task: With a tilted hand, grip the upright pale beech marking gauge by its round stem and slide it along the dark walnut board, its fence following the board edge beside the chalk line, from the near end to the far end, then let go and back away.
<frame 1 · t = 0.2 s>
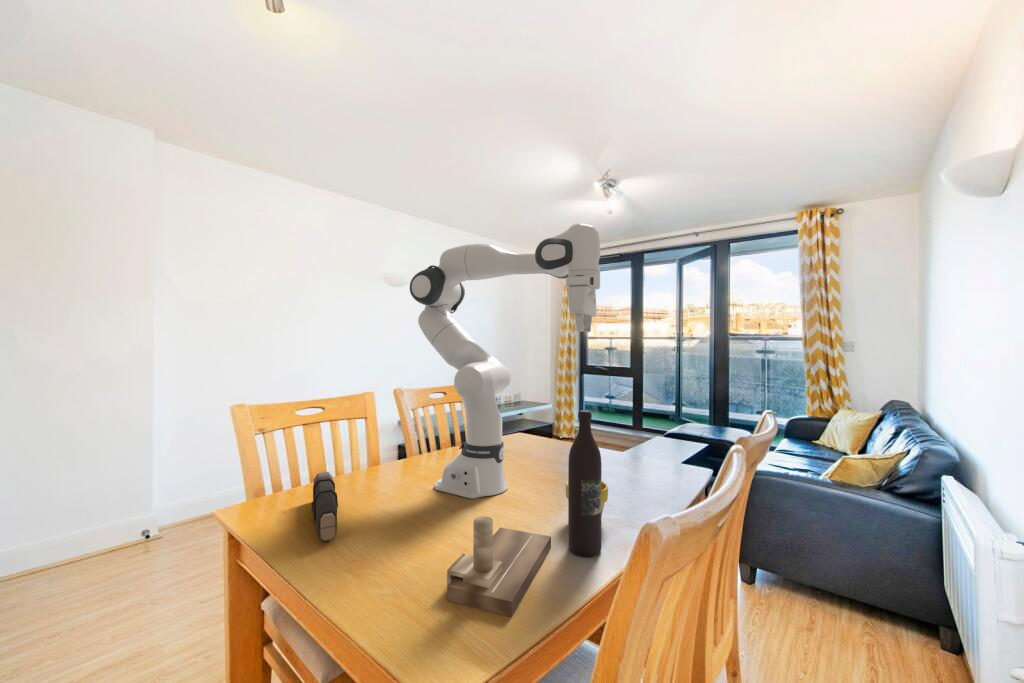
hand: (583, 331, 114), 48 cm above the table, tool pointing down, fingers open, 8 cm apart
dark grey segmented bar: (325, 521, 102), on the table
plant pot: (586, 524, 101), on the table
board: (505, 571, 79), on the table
wine bottle: (584, 550, 88), on the table
gauge: (483, 575, 73), point 2 cm above the table, touching board
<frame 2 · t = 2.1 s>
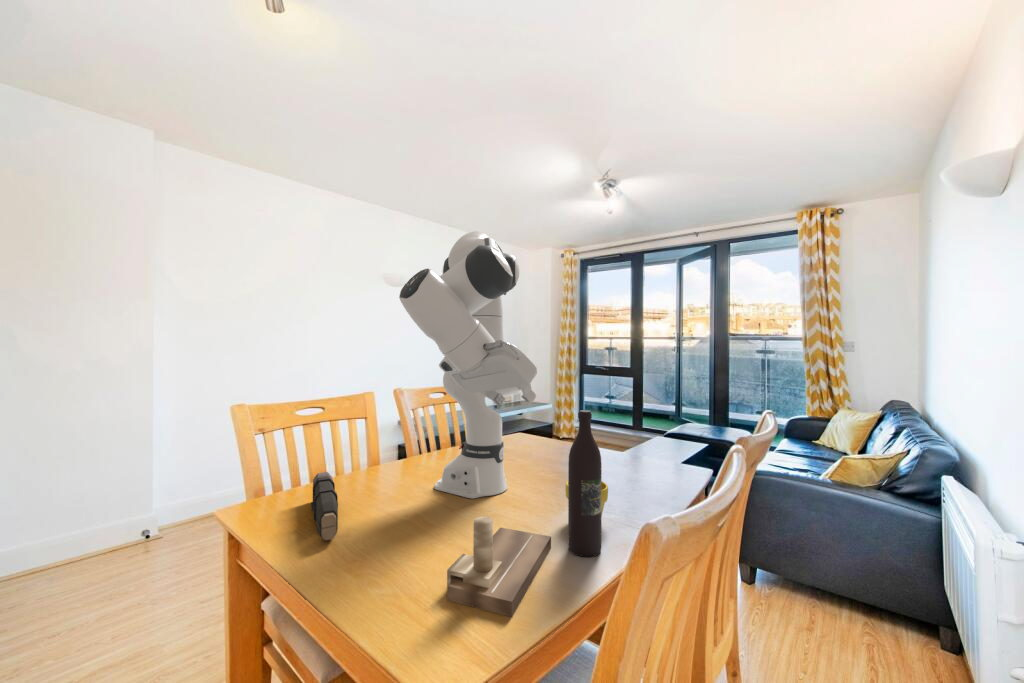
hand: (516, 401, 78), 33 cm above the table, tool tilted 45°, fingers open, 8 cm apart
nothing on the table moved.
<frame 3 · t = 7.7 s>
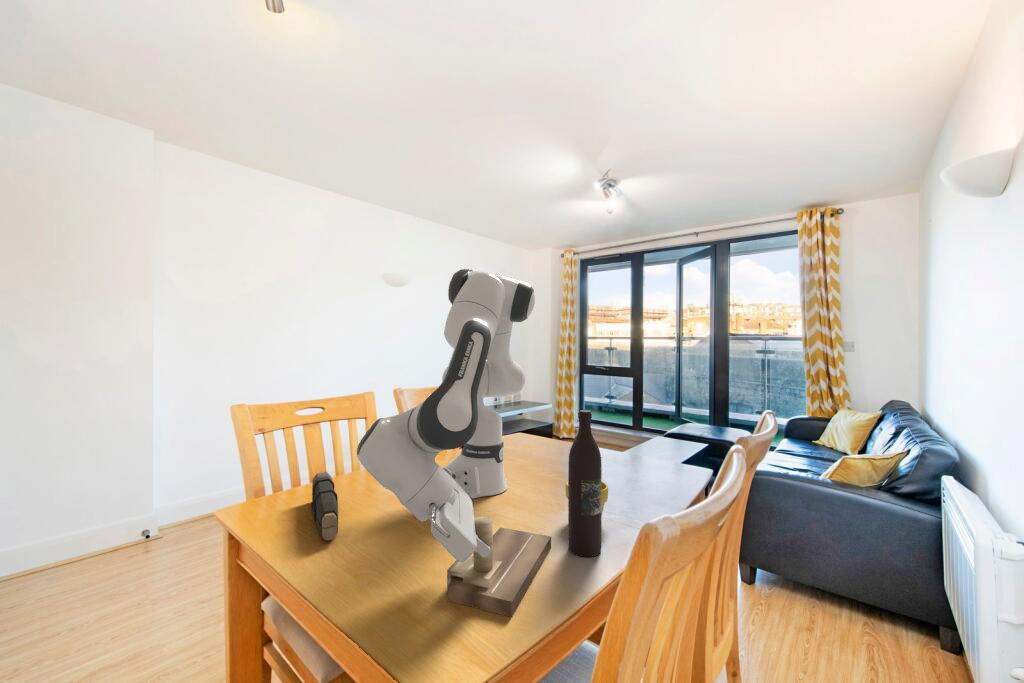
hand: (486, 545, 74), 8 cm above the table, tool tilted 45°, fingers closed on gauge, 3 cm apart
gauge: (483, 575, 73), point 2 cm above the table, touching board, gripper
everything else where it was.
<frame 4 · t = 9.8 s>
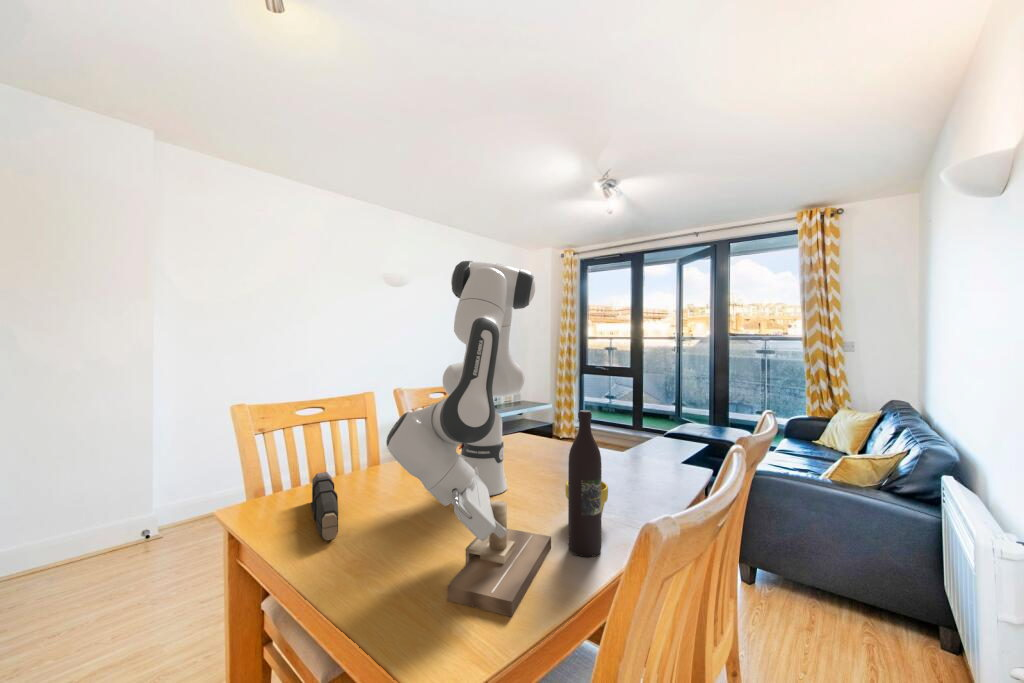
hand: (502, 528, 81), 8 cm above the table, tool tilted 45°, fingers closed on gauge, 3 cm apart
gauge: (497, 553, 81), point 3 cm above the table, touching gripper
everything else where it was.
when the fingers open (8 cm above the table, at t = 12.3 s): gauge stays where it is, resting on board.
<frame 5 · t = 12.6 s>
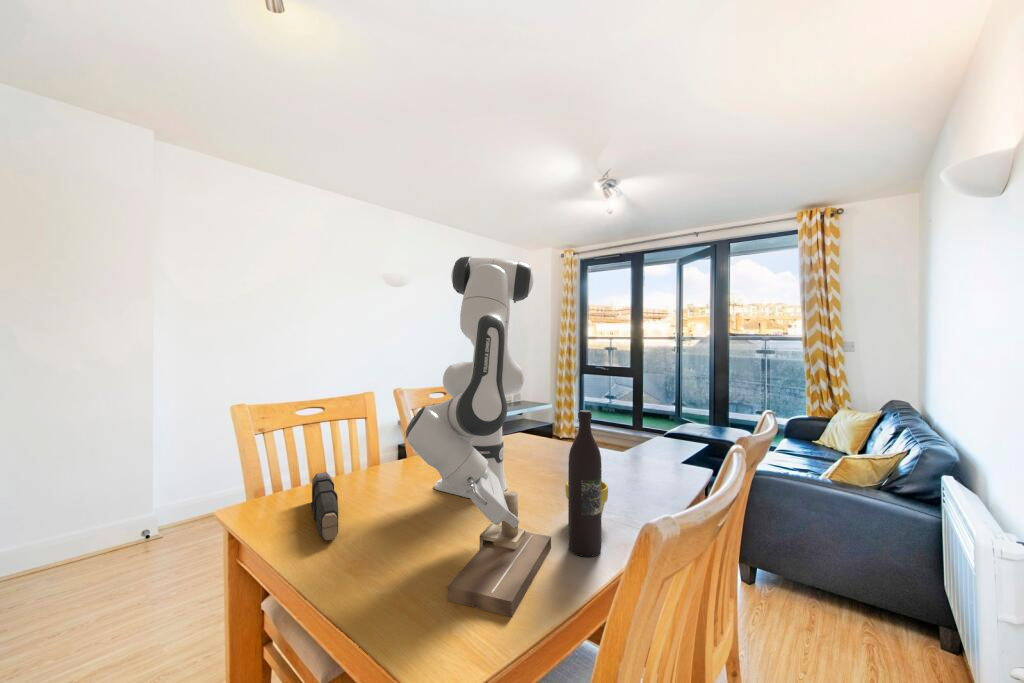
hand: (513, 515, 87), 8 cm above the table, tool tilted 45°, fingers open, 7 cm apart
gauge: (509, 540, 87), point 2 cm above the table, touching board
everything else where it was.
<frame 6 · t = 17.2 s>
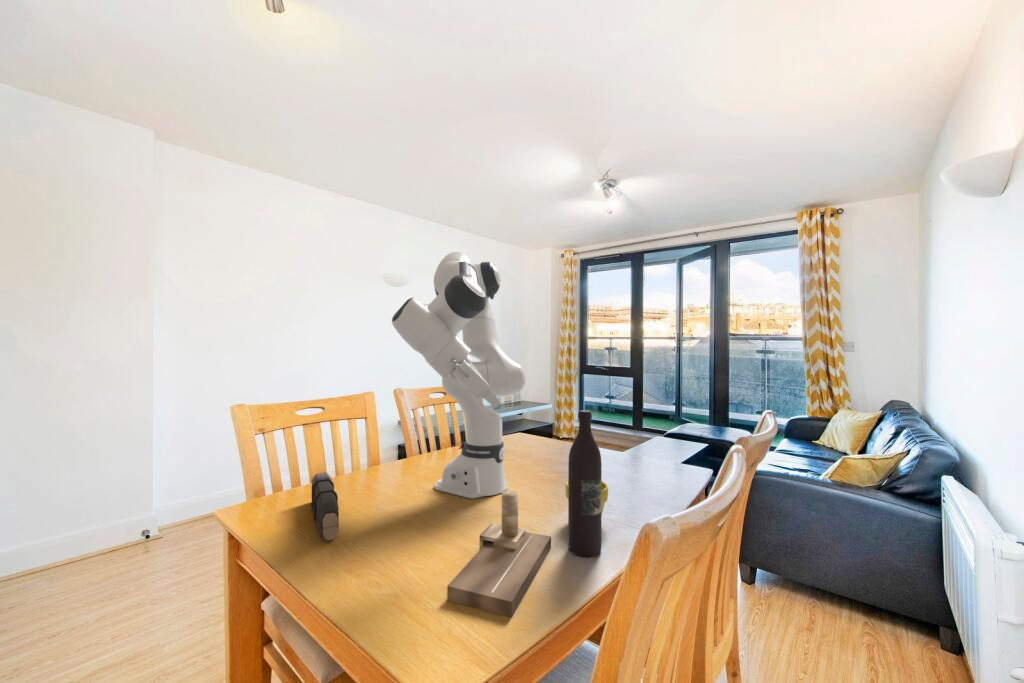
hand: (495, 402, 92), 31 cm above the table, tool tilted 45°, fingers open, 8 cm apart
nothing on the table moved.
at the end: gauge inside the target area (0.2 cm from its centre), point 2.5 cm above the table; gauge tilted 0°; the gripper is holding nothing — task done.
